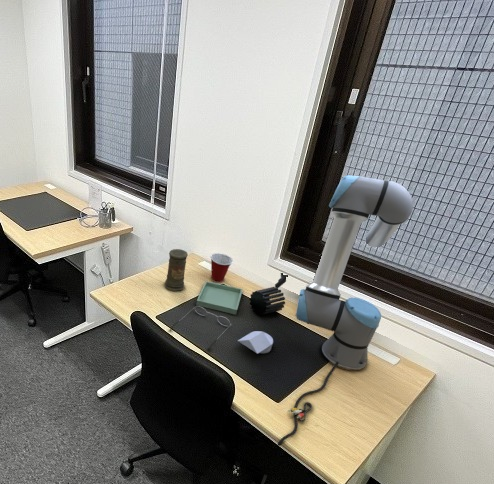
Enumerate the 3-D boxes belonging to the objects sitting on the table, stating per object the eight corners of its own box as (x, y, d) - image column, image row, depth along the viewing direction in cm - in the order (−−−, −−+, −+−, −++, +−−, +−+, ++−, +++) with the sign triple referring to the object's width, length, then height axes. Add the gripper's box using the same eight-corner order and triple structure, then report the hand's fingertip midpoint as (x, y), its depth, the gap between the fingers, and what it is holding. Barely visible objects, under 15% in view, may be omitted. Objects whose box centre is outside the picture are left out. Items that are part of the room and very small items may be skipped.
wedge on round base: (255, 360, 139) (275, 347, 146) (259, 346, 136) (280, 333, 143) (235, 347, 145) (256, 335, 152) (239, 333, 142) (259, 321, 149)
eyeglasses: (231, 328, 156) (233, 320, 153) (208, 352, 143) (210, 344, 141) (193, 310, 165) (194, 303, 163) (169, 332, 153) (170, 324, 150)
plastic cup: (223, 287, 183) (227, 265, 177) (203, 279, 188) (206, 258, 182) (232, 278, 190) (237, 257, 184) (212, 271, 196) (216, 250, 189)
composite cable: (306, 402, 123) (308, 397, 122) (319, 413, 120) (321, 407, 118) (286, 414, 119) (288, 408, 117) (298, 425, 115) (300, 420, 114)
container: (162, 282, 184) (165, 249, 175) (179, 280, 187) (183, 247, 177) (169, 292, 177) (173, 258, 168) (186, 290, 180) (191, 256, 170)
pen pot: (263, 320, 161) (269, 299, 155) (247, 306, 169) (252, 286, 164) (281, 315, 165) (288, 294, 159) (265, 302, 173) (270, 282, 167)
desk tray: (236, 314, 164) (237, 309, 162) (196, 305, 169) (196, 300, 168) (241, 293, 179) (242, 289, 177) (204, 285, 184) (205, 280, 182)
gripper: (345, 284, 165) (314, 312, 159) (295, 263, 183) (265, 287, 177) (347, 271, 160) (315, 299, 154) (295, 251, 178) (264, 275, 172)
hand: (288, 293), depth 165 cm, fingers open, 13 cm apart
